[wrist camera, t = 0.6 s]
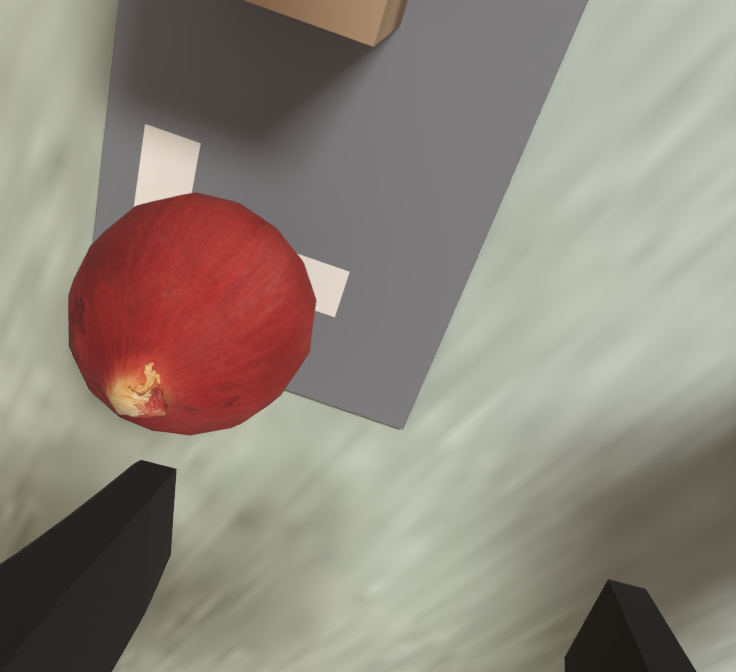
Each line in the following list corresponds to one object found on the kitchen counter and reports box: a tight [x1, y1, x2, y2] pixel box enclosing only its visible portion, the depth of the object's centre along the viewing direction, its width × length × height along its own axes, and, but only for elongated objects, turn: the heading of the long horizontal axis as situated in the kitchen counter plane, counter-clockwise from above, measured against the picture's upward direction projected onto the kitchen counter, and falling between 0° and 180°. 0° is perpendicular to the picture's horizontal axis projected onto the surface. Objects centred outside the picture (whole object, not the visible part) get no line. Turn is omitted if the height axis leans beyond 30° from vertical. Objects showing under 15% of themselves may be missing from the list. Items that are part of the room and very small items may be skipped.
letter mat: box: [93, 0, 588, 430], centre depth 18 cm, size 11×18×1 cm, turn 163°
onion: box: [68, 192, 317, 435], centre depth 17 cm, size 6×6×8 cm
